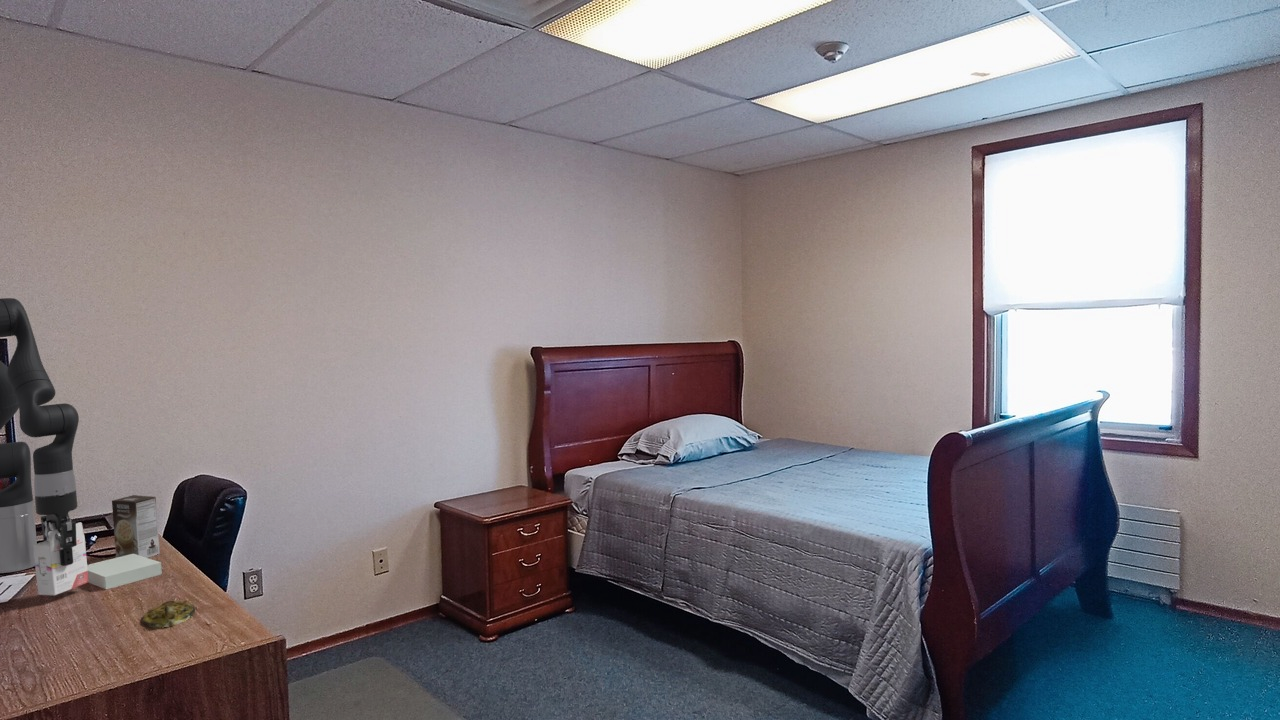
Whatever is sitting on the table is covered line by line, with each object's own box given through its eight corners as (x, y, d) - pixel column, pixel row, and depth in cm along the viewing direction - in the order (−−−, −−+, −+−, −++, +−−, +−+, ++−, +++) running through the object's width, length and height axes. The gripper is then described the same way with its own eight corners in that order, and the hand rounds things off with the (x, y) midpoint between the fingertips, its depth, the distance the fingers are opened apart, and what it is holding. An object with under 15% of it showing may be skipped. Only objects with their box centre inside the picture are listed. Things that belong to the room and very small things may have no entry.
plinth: (79, 578, 184) (78, 567, 184) (134, 564, 194) (133, 553, 194) (106, 589, 175) (105, 577, 175) (161, 574, 185) (160, 562, 185)
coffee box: (114, 559, 200) (109, 500, 200) (137, 551, 206) (132, 494, 206) (139, 561, 197) (134, 501, 196) (161, 553, 203) (157, 495, 203)
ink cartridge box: (72, 581, 176) (67, 520, 176) (89, 582, 175) (84, 521, 175) (36, 595, 168) (31, 531, 167) (53, 596, 167) (48, 531, 166)
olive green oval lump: (141, 618, 159) (147, 638, 147) (137, 597, 159) (142, 616, 147) (191, 602, 165) (200, 620, 153) (186, 581, 164) (196, 598, 152)
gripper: (24, 491, 171) (30, 562, 172) (47, 498, 163) (53, 572, 164) (63, 484, 178) (69, 553, 179) (87, 490, 169) (93, 562, 170)
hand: (61, 562), depth 171 cm, fingers closed on ink cartridge box, 6 cm apart
